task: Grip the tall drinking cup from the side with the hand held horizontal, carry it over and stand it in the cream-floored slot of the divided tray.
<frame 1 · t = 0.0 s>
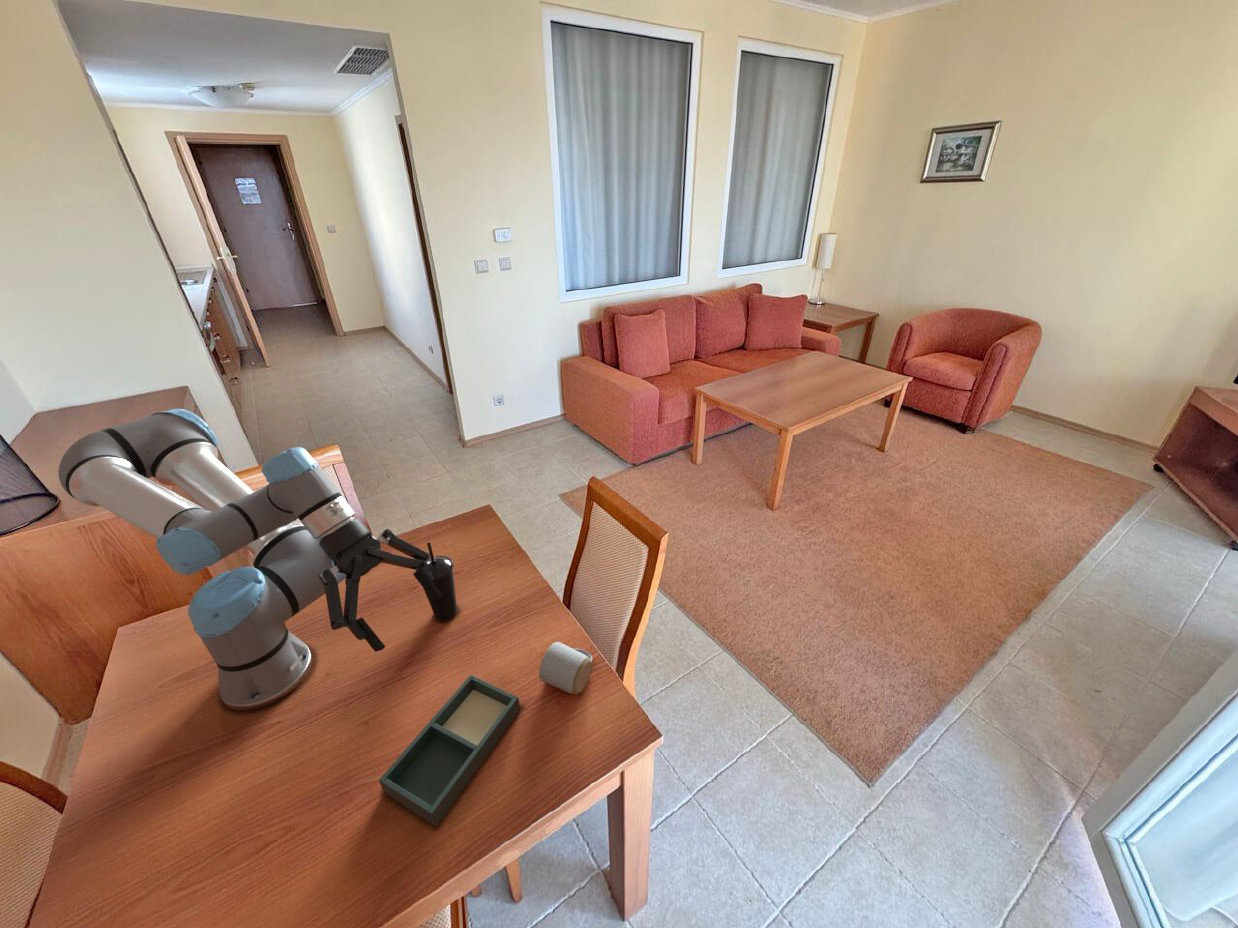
hand: (411, 622, 90), 15 cm above the table, tool tilted 35°, fingers open, 13 cm apart
ceramic mug: (569, 676, 98), on the table
divided tray: (457, 748, 85), on the table
drinking cup: (446, 614, 113), on the table
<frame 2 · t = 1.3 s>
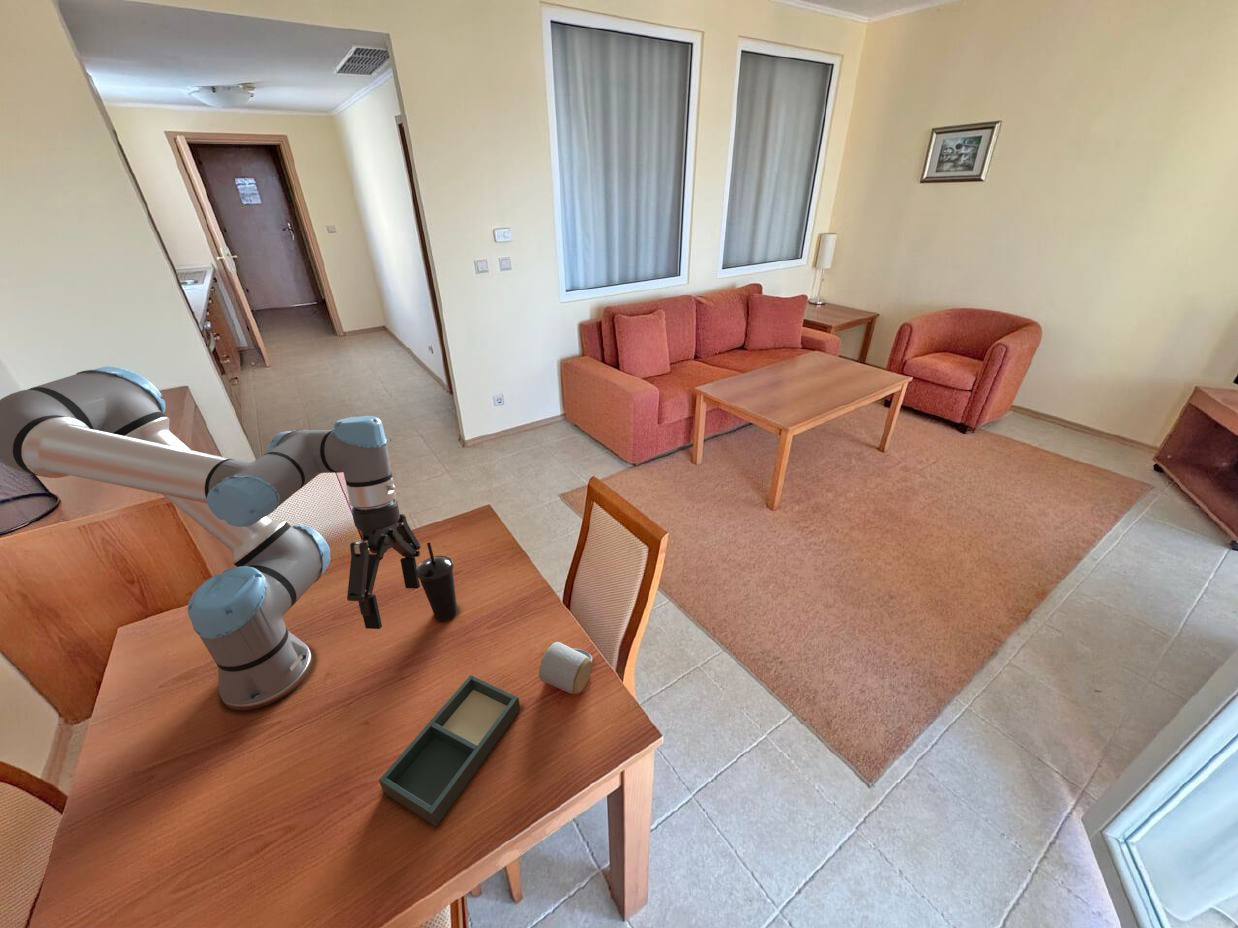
hand: (394, 606, 95), 14 cm above the table, tool pointing down, fingers open, 13 cm apart
nothing on the table moved.
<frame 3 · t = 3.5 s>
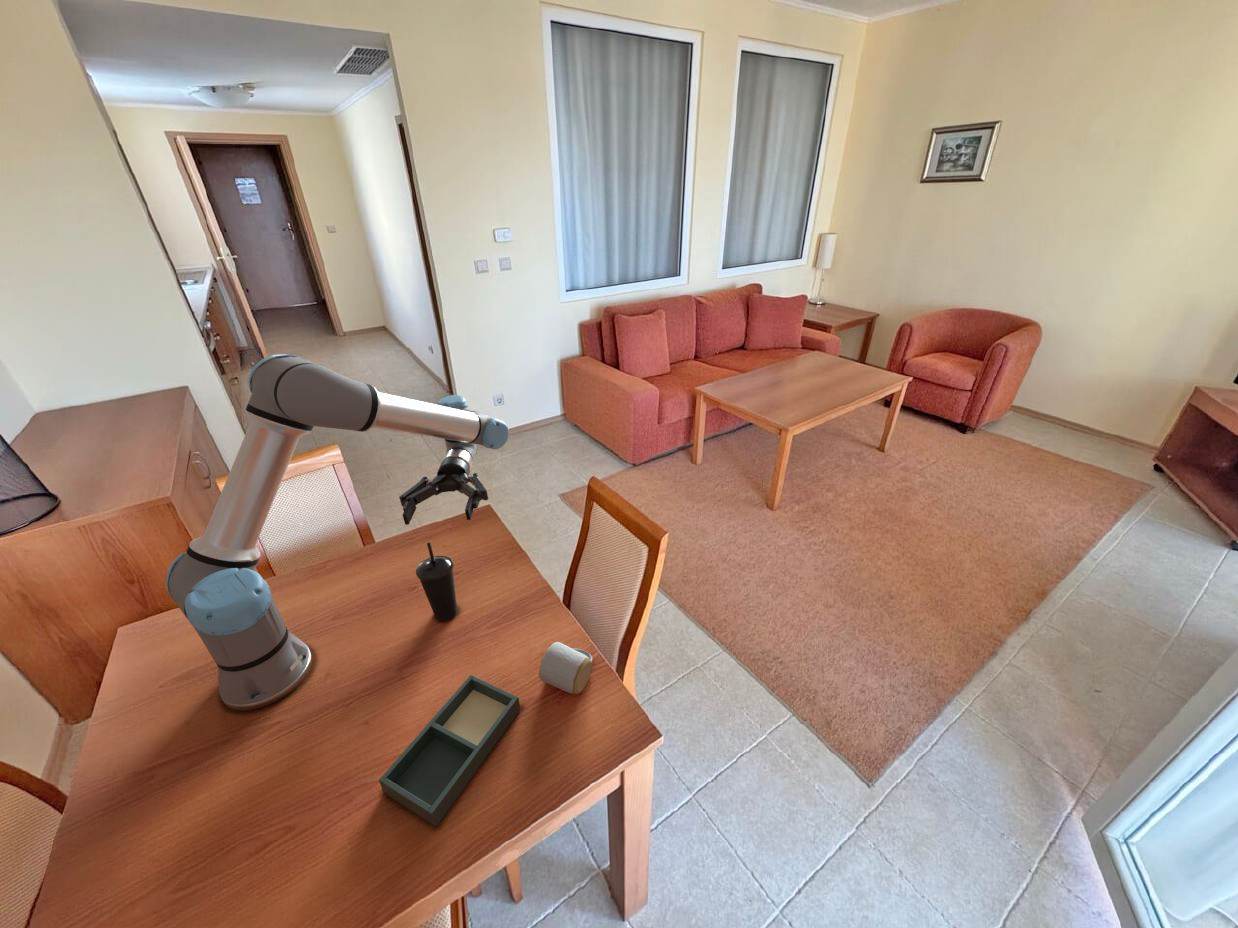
hand: (436, 517, 110), 21 cm above the table, tool horizontal, fingers open, 13 cm apart
nothing on the table moved.
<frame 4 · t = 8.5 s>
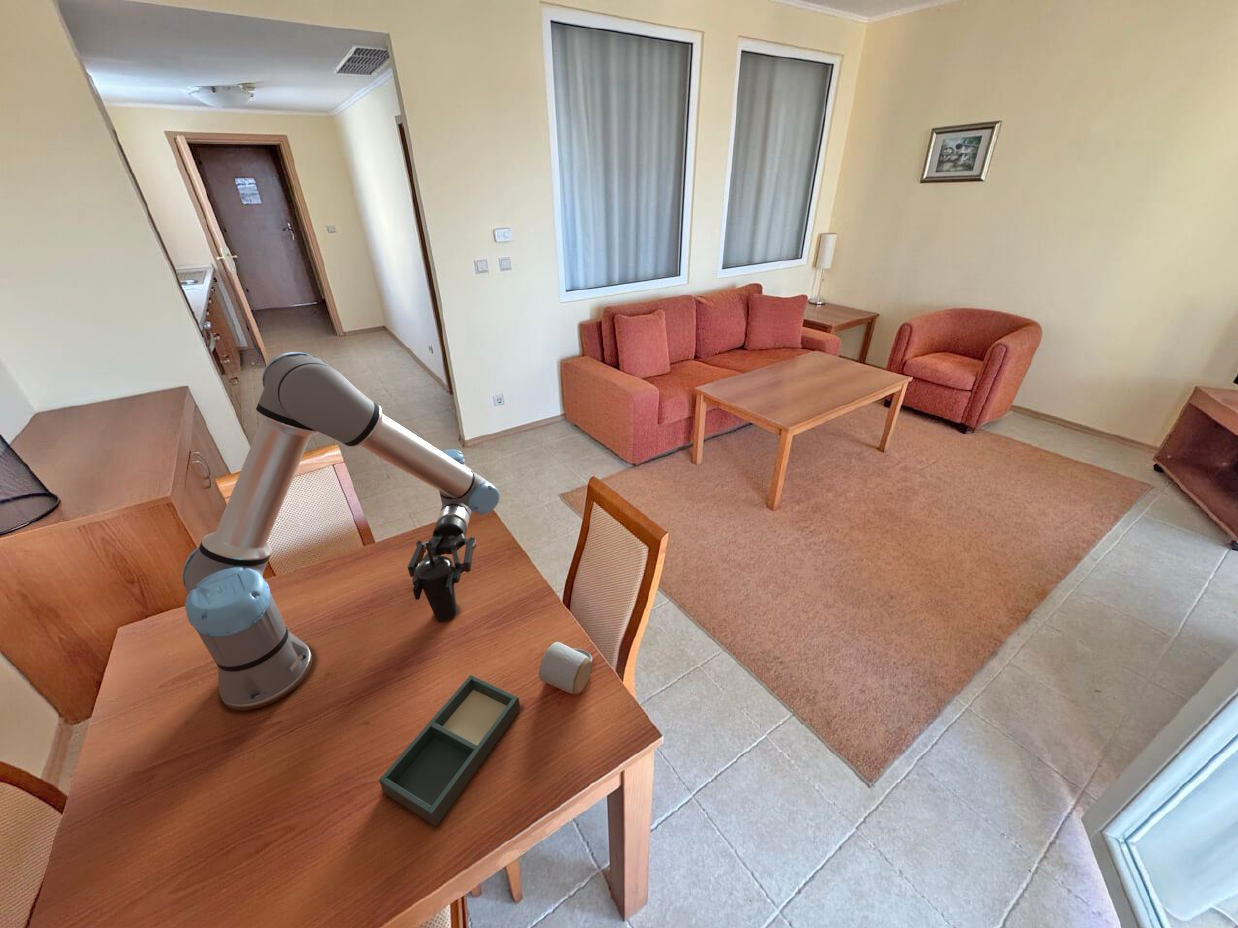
hand: (432, 593, 103), 11 cm above the table, tool horizontal, fingers closed on drinking cup, 6 cm apart
drinking cup: (446, 613, 113), on the table, touching gripper
everything else where it was.
when the fingers open (12 cm above the table, at t = 16.4 s): drinking cup stays where it is, resting on divided tray.
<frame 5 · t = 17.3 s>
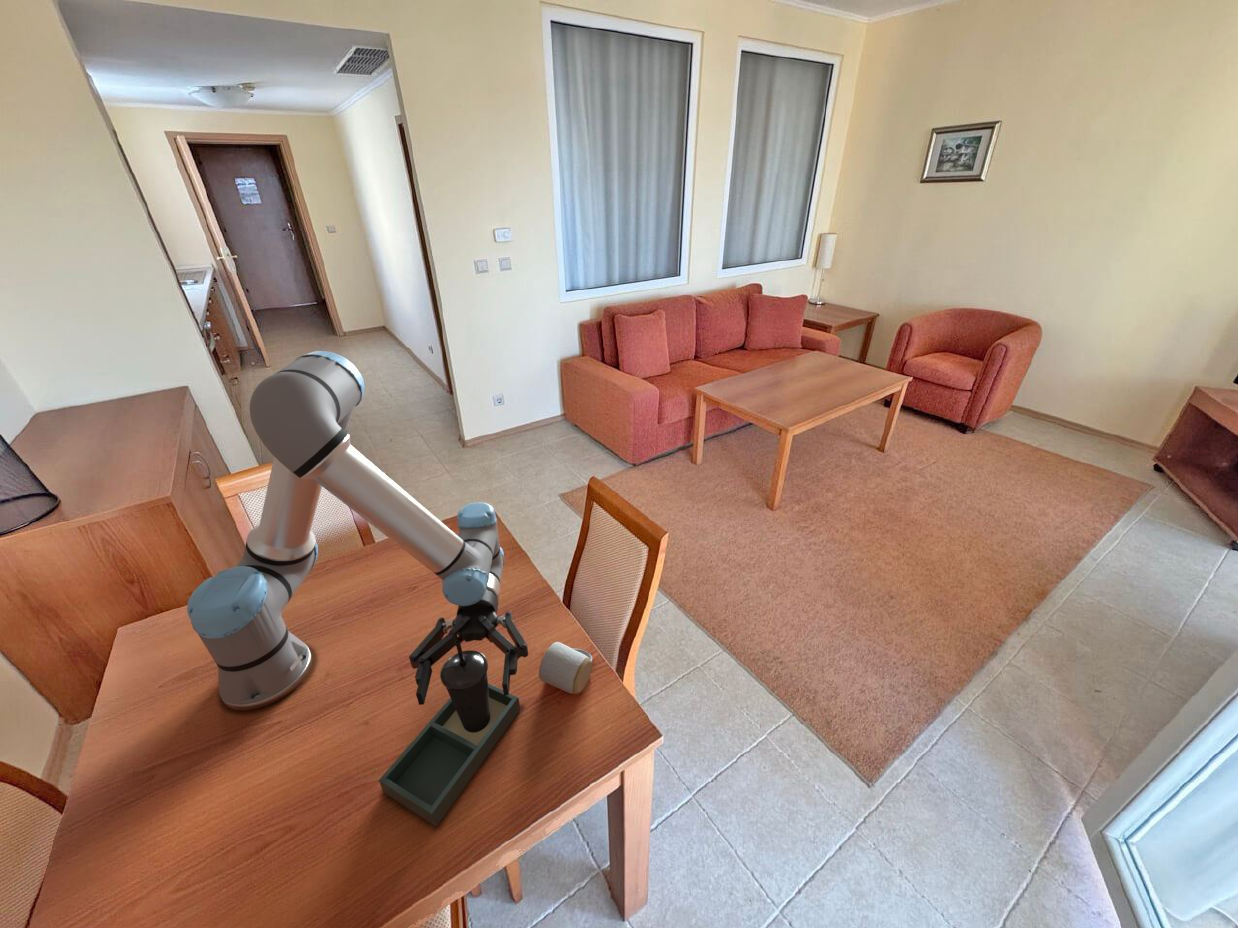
hand: (463, 694, 81), 12 cm above the table, tool horizontal, fingers open, 13 cm apart
drinking cup: (476, 720, 89), point 1 cm above the table, touching divided tray
everything else where it was.
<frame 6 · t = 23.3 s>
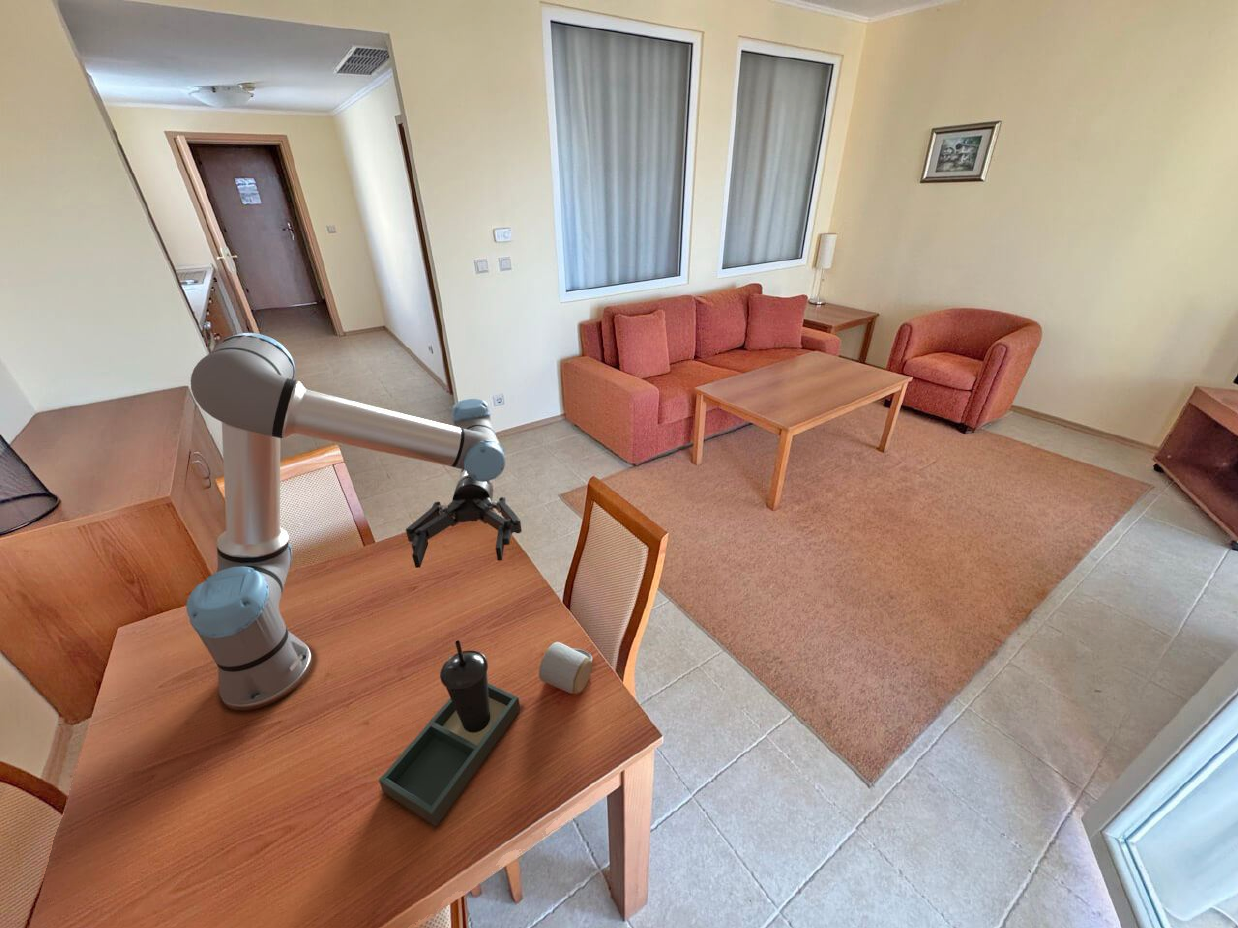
hand: (457, 558, 83), 30 cm above the table, tool horizontal, fingers open, 13 cm apart
nothing on the table moved.
at the end: drinking cup 0.0 cm from the target spot in the divided tray, point 0.6 cm above the divided tray's base; drinking cup tilted 0°; the gripper is holding nothing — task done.
